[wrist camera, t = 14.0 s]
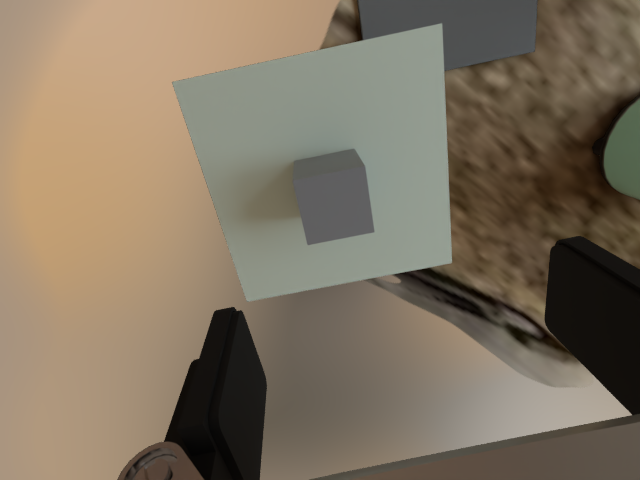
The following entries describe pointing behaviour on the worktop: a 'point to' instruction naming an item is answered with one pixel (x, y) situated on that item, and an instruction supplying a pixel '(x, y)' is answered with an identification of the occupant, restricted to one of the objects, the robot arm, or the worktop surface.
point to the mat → (458, 26)
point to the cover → (327, 162)
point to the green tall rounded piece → (622, 151)
